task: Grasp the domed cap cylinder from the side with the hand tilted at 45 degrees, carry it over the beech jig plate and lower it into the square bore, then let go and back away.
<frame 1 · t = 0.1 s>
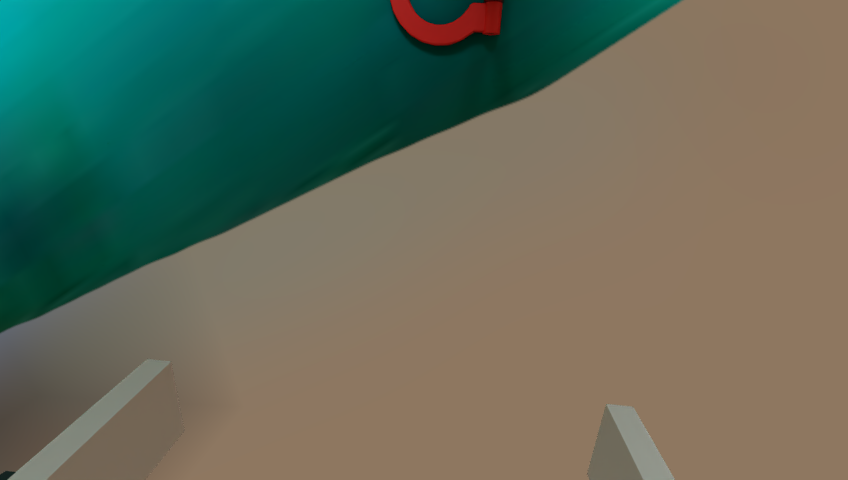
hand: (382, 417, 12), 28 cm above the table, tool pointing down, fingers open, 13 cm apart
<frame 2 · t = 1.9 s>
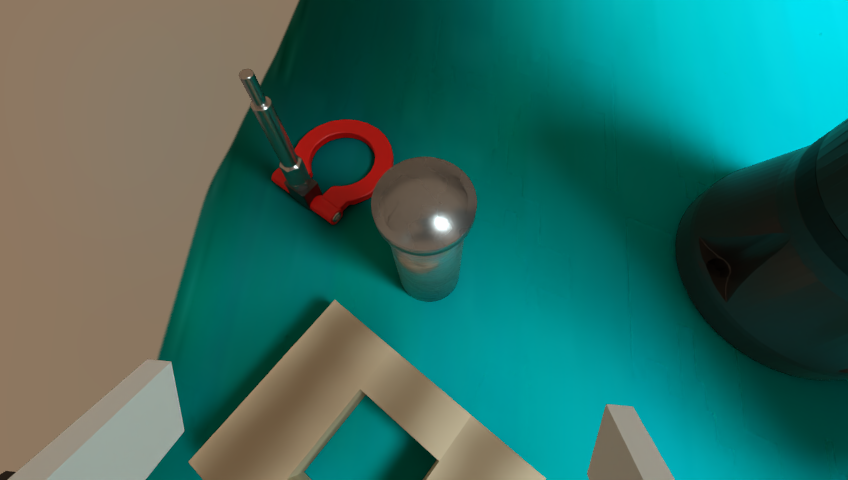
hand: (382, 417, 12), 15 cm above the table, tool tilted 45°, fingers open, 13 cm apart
tow hook: (341, 169, 34), on the table
jig: (371, 463, 25), on the table
domed cap cylinder: (429, 272, 30), on the table
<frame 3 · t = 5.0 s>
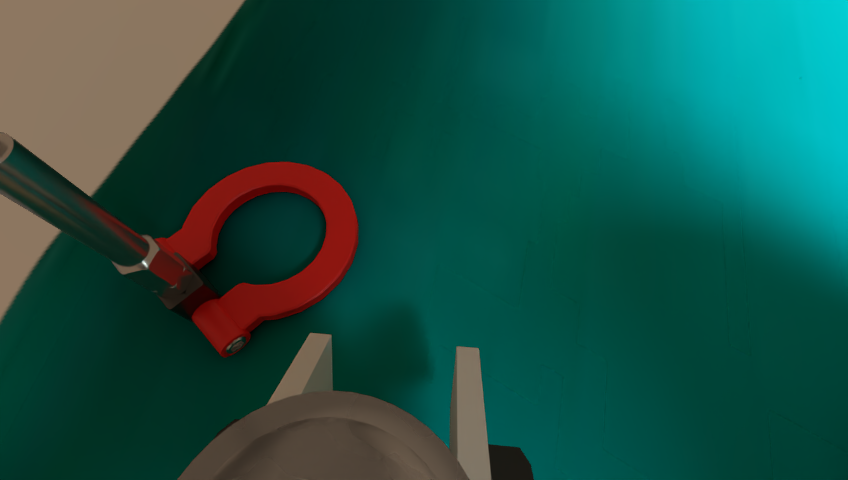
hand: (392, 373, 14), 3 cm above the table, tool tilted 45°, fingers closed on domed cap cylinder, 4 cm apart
tow hook: (269, 246, 20), on the table
when the fingers open (5 cm above the table, at t = 9.6 s): domed cap cylinder stays where it is, resting in jig.
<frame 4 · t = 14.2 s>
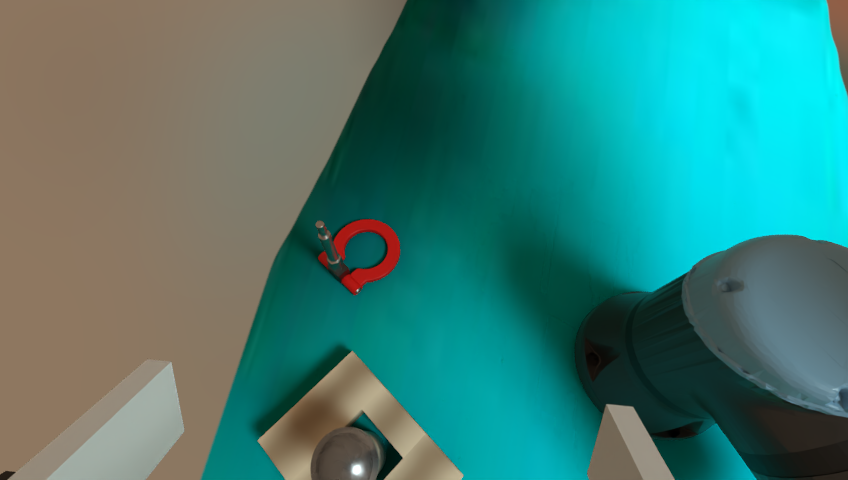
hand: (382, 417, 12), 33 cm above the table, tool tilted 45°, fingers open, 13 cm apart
tow hook: (364, 254, 50), on the table
jig: (363, 455, 41), on the table
domed cap cylinder: (364, 454, 41), resting in jig
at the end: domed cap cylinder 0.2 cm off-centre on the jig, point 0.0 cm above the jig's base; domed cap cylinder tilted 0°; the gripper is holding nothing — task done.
